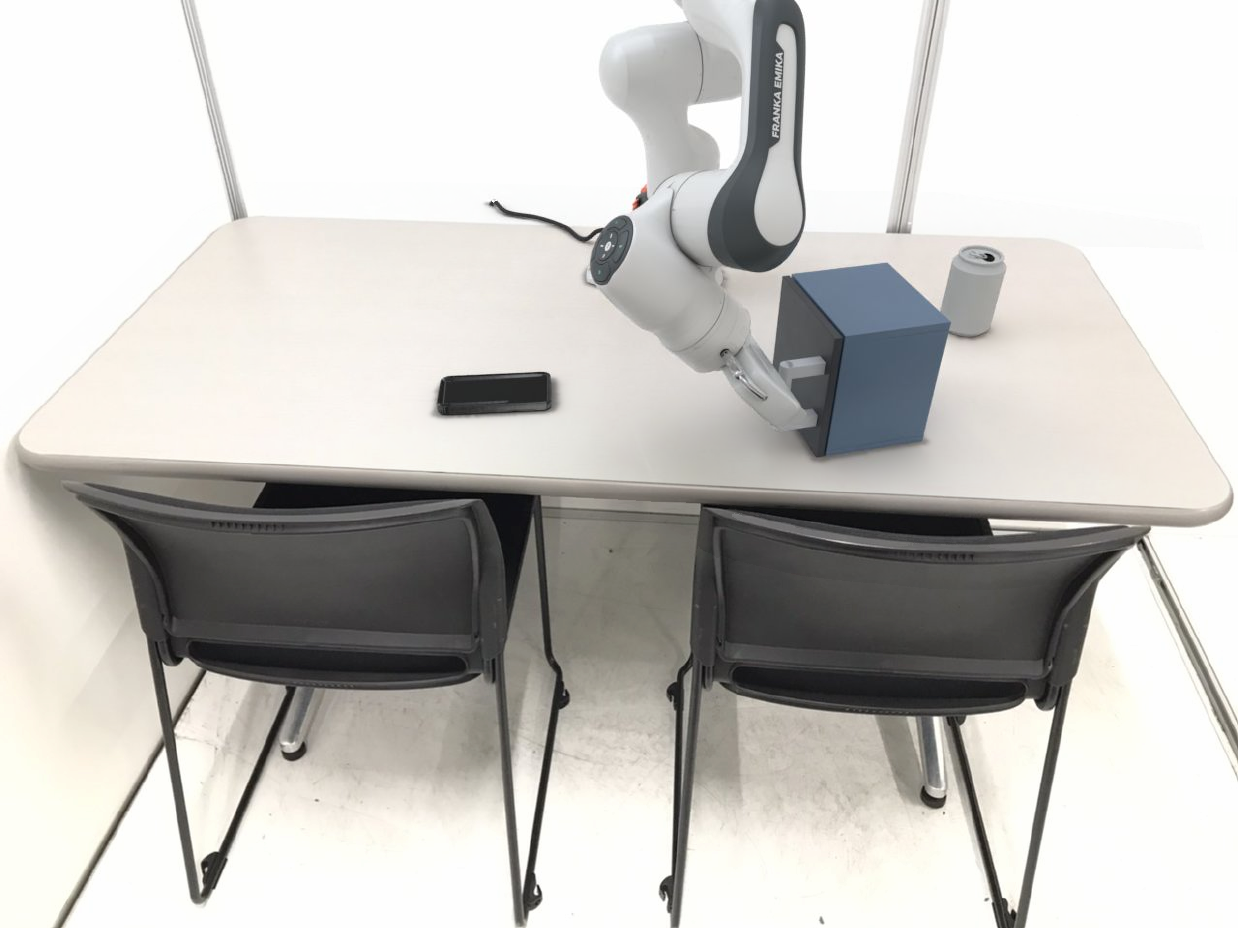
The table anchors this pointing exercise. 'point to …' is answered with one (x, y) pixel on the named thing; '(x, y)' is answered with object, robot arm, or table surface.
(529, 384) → the phone
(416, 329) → the table surface
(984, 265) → the can
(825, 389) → the cabinet door
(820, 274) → the blue cabinet body
